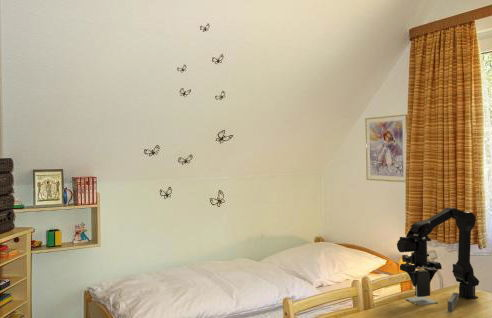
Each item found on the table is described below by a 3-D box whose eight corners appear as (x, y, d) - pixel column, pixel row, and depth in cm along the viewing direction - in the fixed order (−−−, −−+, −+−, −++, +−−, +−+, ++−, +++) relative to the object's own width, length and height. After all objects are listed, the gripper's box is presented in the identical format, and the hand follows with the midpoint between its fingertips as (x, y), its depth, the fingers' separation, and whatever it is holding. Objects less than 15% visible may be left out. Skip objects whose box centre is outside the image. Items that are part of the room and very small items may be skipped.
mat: (423, 297, 195) (423, 296, 195) (437, 303, 186) (437, 301, 186) (405, 299, 192) (405, 298, 192) (419, 305, 183) (419, 304, 183)
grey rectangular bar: (453, 301, 188) (453, 292, 188) (458, 302, 187) (458, 293, 187) (446, 310, 176) (446, 301, 176) (452, 311, 175) (452, 302, 175)
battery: (425, 293, 192) (424, 268, 192) (431, 296, 188) (430, 270, 188) (412, 295, 190) (411, 270, 190) (417, 297, 186) (416, 271, 187)
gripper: (424, 246, 200) (425, 279, 200) (391, 249, 194) (392, 283, 194) (442, 250, 190) (442, 285, 189) (407, 253, 184) (408, 289, 183)
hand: (421, 285), depth 189 cm, fingers closed on battery, 7 cm apart
